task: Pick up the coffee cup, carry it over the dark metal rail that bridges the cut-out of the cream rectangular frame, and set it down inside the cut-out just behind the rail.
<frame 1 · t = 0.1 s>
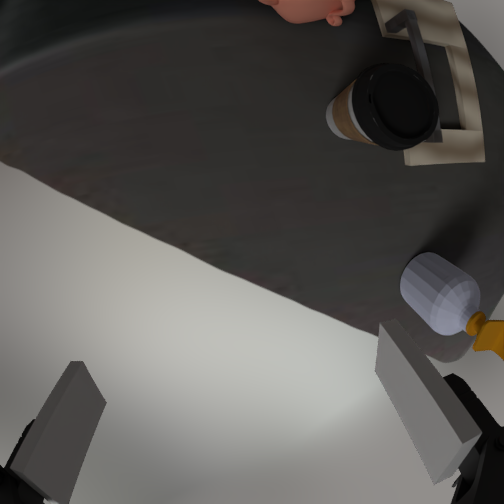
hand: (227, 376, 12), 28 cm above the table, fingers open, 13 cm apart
spray bottle: (421, 277, 42), on the table
cream rectangular frame: (433, 72, 32), on the table
coffee cup: (346, 117, 34), on the table
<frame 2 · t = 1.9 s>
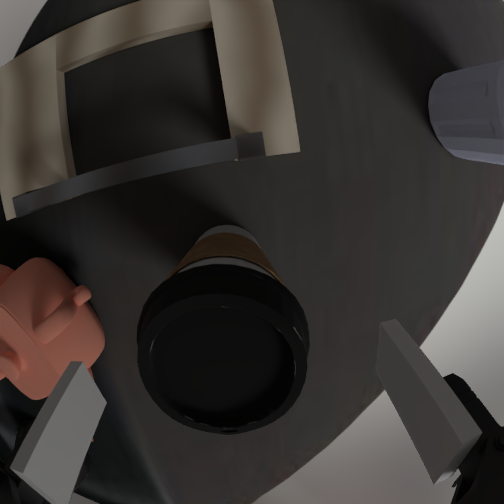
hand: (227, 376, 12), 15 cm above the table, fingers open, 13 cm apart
teapot: (54, 311, 27), on the table
spray bottle: (457, 115, 22), on the table
cream rectangular frame: (114, 93, 20), on the table
coffee cup: (227, 257, 26), on the table
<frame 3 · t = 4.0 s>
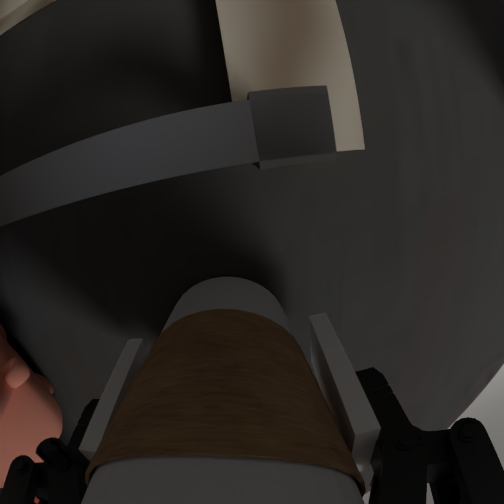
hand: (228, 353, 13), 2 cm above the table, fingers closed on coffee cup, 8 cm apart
teapot: (3, 370, 16), on the table
cream rectangular frame: (46, 58, 10), on the table
coffee cup: (228, 325, 15), on the table, touching gripper
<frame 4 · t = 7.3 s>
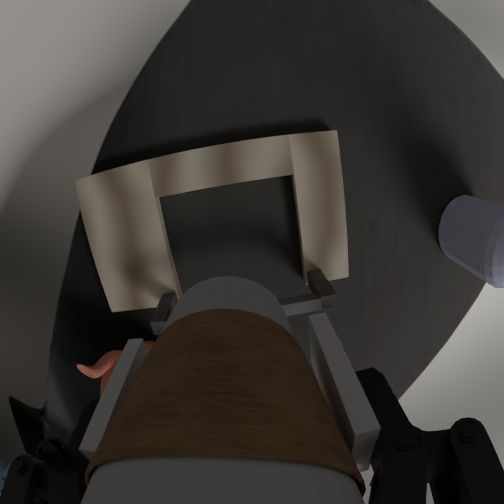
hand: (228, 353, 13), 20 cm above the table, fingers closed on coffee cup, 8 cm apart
teapot: (150, 371, 38), on the table
spray bottle: (459, 226, 33), on the table
cream rectangular frame: (211, 224, 31), on the table
coffee cup: (228, 325, 15), point 18 cm above the table, touching gripper
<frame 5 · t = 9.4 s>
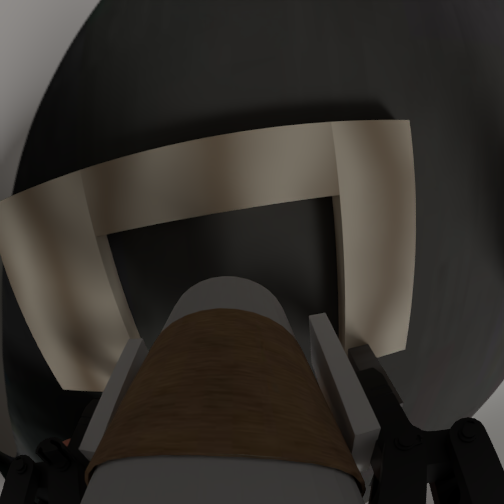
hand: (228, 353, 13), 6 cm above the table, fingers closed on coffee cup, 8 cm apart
cream rectangular frame: (193, 277, 18), on the table
coffee cup: (228, 325, 15), point 4 cm above the table, touching gripper
when the fingers open (4 cm above the table, at t = 10.8 s): coffee cup drops 2 cm, on the table.
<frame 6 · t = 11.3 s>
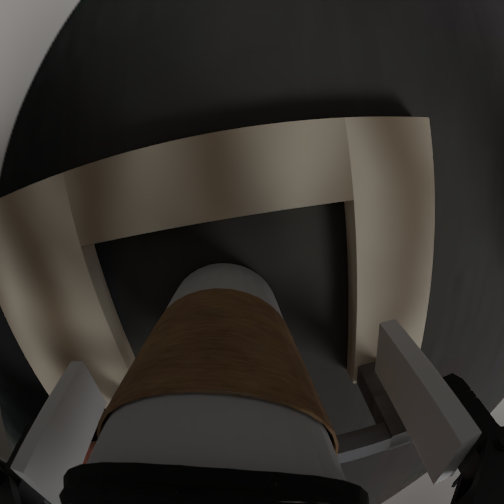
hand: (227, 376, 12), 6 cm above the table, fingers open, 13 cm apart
cream rectangular frame: (189, 290, 17), on the table
coffee cup: (224, 308, 17), on the table
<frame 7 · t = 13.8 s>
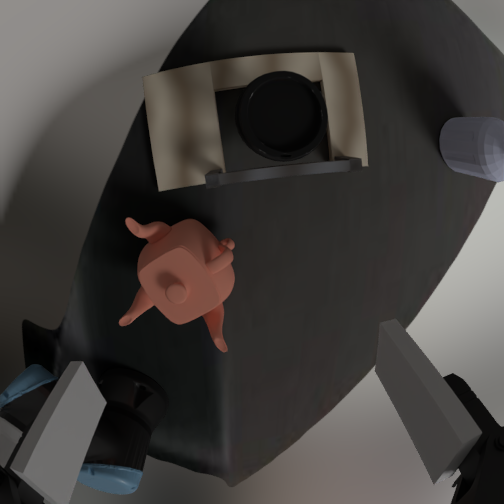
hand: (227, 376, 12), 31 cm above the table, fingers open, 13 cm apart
teapot: (184, 262, 43), on the table
spray bottle: (457, 144, 37), on the table
cream rectangular frame: (256, 114, 36), on the table
coffee cup: (271, 124, 37), on the table
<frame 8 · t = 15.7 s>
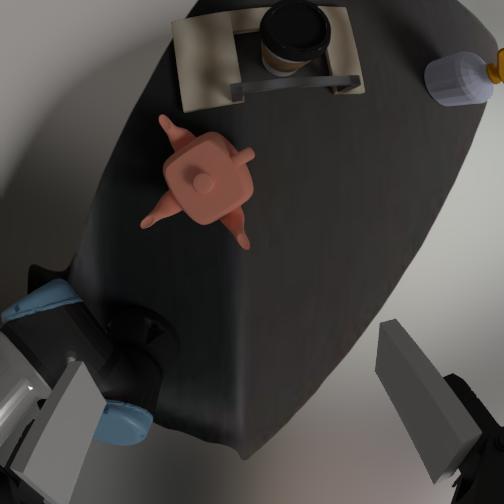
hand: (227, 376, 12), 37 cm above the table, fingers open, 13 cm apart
teapot: (203, 180, 45), on the table
spray bottle: (440, 83, 40), on the table
cream rectangular frame: (268, 52, 38), on the table
coffee cup: (281, 59, 39), on the table
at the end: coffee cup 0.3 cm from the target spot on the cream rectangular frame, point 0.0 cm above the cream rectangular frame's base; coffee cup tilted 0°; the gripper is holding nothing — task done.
